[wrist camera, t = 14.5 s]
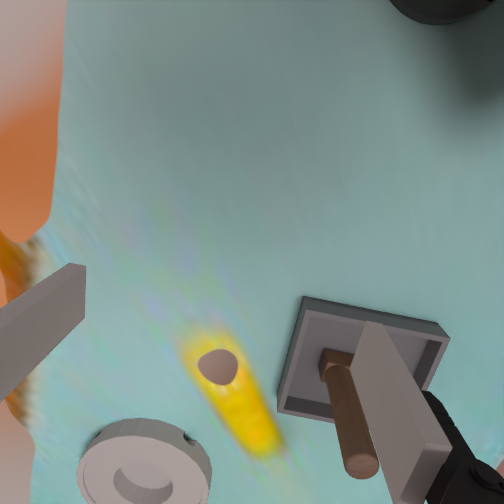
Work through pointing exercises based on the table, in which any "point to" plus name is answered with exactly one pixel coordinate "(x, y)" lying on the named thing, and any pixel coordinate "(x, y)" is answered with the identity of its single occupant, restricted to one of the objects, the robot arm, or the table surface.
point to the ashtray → (144, 465)
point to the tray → (349, 351)
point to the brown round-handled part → (348, 415)
